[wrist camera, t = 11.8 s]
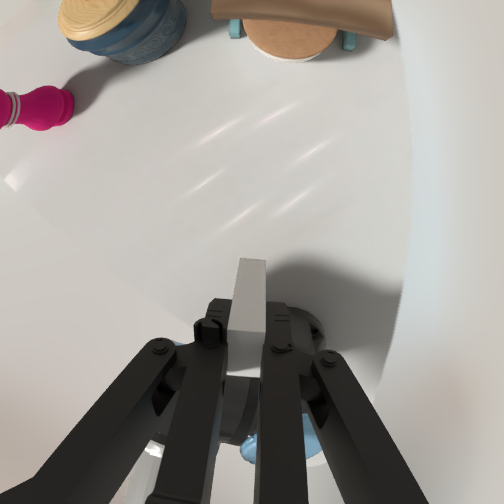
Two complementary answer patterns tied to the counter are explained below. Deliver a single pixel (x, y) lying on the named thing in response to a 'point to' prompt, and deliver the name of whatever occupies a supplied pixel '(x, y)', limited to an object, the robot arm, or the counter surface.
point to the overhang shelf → (312, 15)
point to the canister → (123, 27)
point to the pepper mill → (36, 108)
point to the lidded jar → (288, 39)
